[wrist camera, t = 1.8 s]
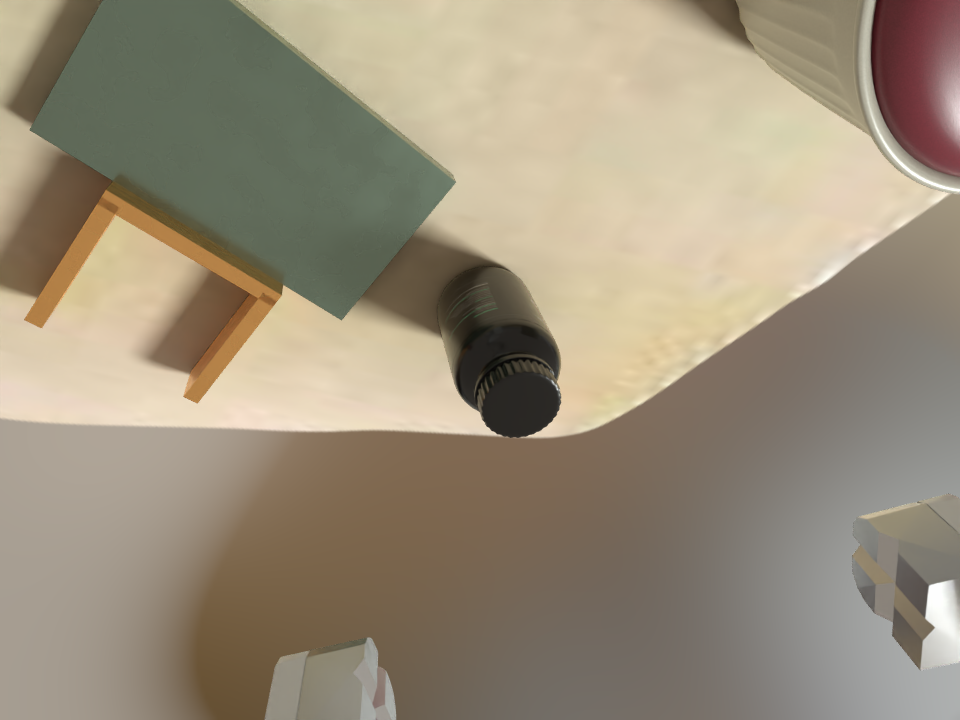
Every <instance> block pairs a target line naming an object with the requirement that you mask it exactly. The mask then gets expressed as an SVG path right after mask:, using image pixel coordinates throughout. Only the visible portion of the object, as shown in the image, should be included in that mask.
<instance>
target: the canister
mask: <svg viewBox="0 0 960 720" xmlns="http://www.w3.org/2000/svg"><path fill="white" fill-rule="evenodd" d="M736 3H737V5H738V7H739V12H740V15H739V18H740V21H741V23H742V24H743V25H744V27H745V33H746V36H747V38H748V40H749V41H750V42H751V43H752V44H753V45H754V49H755V51H756V53H757V54H758V55H759V56H760V57H761V58H762V59H763V60H765V61H766V63H767V64H768V66H769V67H770V68H771V69H772V70H774V71H775V72H776V73H778V74H779V75H780V76H782V77H783V78H784V79H786V80H787V81H789V82H790V83H791V84H793V85H794V86H796V87H797V88H798V89H800V90H801V91H803V92H804V93H806V94H807V95H809V96H810V97H812V98H813V99H814V100H816V101H817V102H819V103H820V104H822V105H823V106H825V107H826V108H828V109H829V110H831V111H832V112H834V113H835V114H837V115H839V116H840V117H842V118H843V119H845V120H846V121H848V122H850V123H851V124H853V125H854V126H856V127H857V128H859V129H860V130H862V131H863V132H865V133H867V134H868V135H870V136H871V137H872V139H873V141H874V142H875V144H876V146H877V147H878V149H879V150H880V152H881V153H882V154H883V155H884V157H885V158H886V159H887V160H888V161H889V162H890V163H891V164H892V165H893V166H894V167H895V168H896V169H897V170H899V171H900V172H901V173H902V174H904V175H905V176H907V177H908V178H910V179H912V180H914V181H915V182H917V183H919V184H922V185H924V186H926V187H929V188H932V189H935V190H938V191H942V192H947V193H953V194H960V0H736Z"/></svg>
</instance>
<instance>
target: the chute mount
mask: <svg viewBox="0 0 960 720" xmlns="http://www.w3.org/2000/svg"><path fill="white" fill-rule="evenodd" d="M30 131H32V132H34V133H35V134H37V135H38V136H40V137H42V138H43V139H45V140H47V141H48V142H50V143H52V144H53V145H55V146H57V147H58V148H60V149H61V150H63V151H65V152H66V153H68V154H70V155H71V156H73V157H75V158H76V159H78V160H79V161H81V162H83V163H84V164H86V165H88V166H89V167H91V168H93V169H94V170H96V171H98V172H99V173H101V174H102V175H104V176H106V177H107V178H109V179H111V180H112V183H111V184H110V185H109V187H108V188H107V189H106V190H105V192H104V194H103V195H102V197H101V198H100V200H99V202H98V203H97V205H96V206H95V208H94V210H93V211H92V213H91V214H90V216H89V217H88V219H87V221H86V222H85V224H84V225H83V227H82V229H81V230H80V232H79V233H78V235H77V237H76V238H75V240H74V241H73V243H72V245H71V246H70V248H69V249H68V251H67V252H66V254H65V256H64V257H63V259H62V260H61V262H60V264H59V265H58V267H57V268H56V270H55V272H54V273H53V275H52V276H51V278H50V279H49V281H48V283H47V284H46V286H45V287H44V289H43V291H42V292H41V294H40V295H39V297H38V299H37V300H36V302H35V303H34V305H33V307H32V308H31V310H30V311H29V313H28V314H27V316H26V318H25V319H24V320H25V321H27V322H30V323H32V324H34V325H36V326H38V327H40V328H42V327H43V326H44V324H45V323H46V321H47V320H48V318H49V317H50V315H51V314H52V312H53V311H54V310H55V308H56V307H57V305H58V304H59V302H60V300H61V299H62V297H63V296H64V294H65V293H66V291H67V290H68V288H69V286H70V285H71V283H72V282H73V280H74V279H75V277H76V276H77V274H78V273H79V271H80V269H81V268H82V266H83V265H84V263H85V262H86V260H87V259H88V257H89V255H90V254H91V252H92V251H93V249H94V248H95V246H96V245H97V243H98V241H99V240H100V238H101V237H102V235H103V234H104V232H105V231H106V229H107V228H108V226H109V224H110V223H111V221H112V220H113V218H114V217H115V215H117V216H119V217H121V218H122V219H124V220H126V221H127V222H129V223H131V224H132V225H134V226H136V227H138V228H139V229H141V230H143V231H144V232H146V233H148V234H149V235H151V236H153V237H155V238H156V239H158V240H160V241H161V242H163V243H165V244H166V245H168V246H170V247H172V248H173V249H175V250H177V251H178V252H180V253H182V254H184V255H185V256H187V257H189V258H190V259H192V260H194V261H195V262H197V263H199V264H201V265H202V266H204V267H206V268H207V269H209V270H211V271H212V272H214V273H216V274H218V275H219V276H221V277H223V278H224V279H226V280H228V281H230V282H231V283H233V284H235V285H236V286H238V287H240V288H241V289H243V290H245V291H247V292H248V293H250V294H249V296H248V297H247V298H246V299H245V301H244V302H243V303H242V305H241V306H240V307H239V309H238V310H237V311H236V313H235V314H234V315H233V317H232V318H231V319H230V321H229V322H228V323H227V325H226V326H225V327H224V328H223V330H222V331H221V332H220V334H219V335H218V336H217V338H216V339H215V340H214V342H213V343H212V344H211V346H210V347H209V348H208V350H207V351H206V352H205V354H204V355H203V356H202V357H201V359H200V360H199V361H198V363H197V364H196V365H195V367H194V368H193V369H192V371H191V372H190V376H189V379H188V383H187V386H186V389H185V393H184V396H183V397H185V398H187V399H189V400H191V401H193V402H195V403H198V402H199V401H200V400H201V398H202V397H203V396H204V394H205V393H206V392H207V391H208V389H209V388H210V387H211V386H212V384H213V383H214V382H215V380H216V379H217V378H218V377H219V375H220V374H221V373H222V371H223V370H224V369H225V368H226V366H227V365H228V364H229V362H230V361H231V360H232V359H233V357H234V356H235V355H236V353H237V352H238V351H239V350H240V348H241V347H242V346H243V344H244V343H245V342H246V341H247V339H248V338H249V337H250V335H251V334H252V333H253V332H254V330H255V329H256V328H257V327H258V325H259V324H260V323H261V321H262V320H263V319H264V318H265V316H266V315H267V314H268V312H269V311H270V310H271V309H272V307H273V306H274V305H275V303H276V302H277V301H278V300H279V298H280V297H281V296H282V289H283V285H285V286H286V287H288V288H289V289H291V290H293V291H294V292H296V293H298V294H299V295H301V296H303V297H304V298H306V299H308V300H309V301H311V302H312V303H314V304H316V305H317V306H319V307H321V308H322V309H324V310H326V311H327V312H329V313H331V314H332V315H334V316H335V317H337V318H339V319H340V320H342V319H343V318H344V317H345V315H346V314H347V313H348V312H349V311H350V309H351V308H352V307H353V306H354V305H355V303H356V302H357V301H358V300H359V299H360V297H361V296H362V295H363V294H364V293H365V291H366V290H367V289H368V288H369V287H370V285H371V284H372V283H373V282H374V280H375V279H376V278H377V277H378V276H379V274H380V273H381V272H382V271H383V270H384V268H385V267H386V266H387V265H388V264H389V262H390V261H391V260H392V259H393V258H394V256H395V255H396V254H397V253H398V252H399V250H400V249H401V248H402V247H403V246H404V244H405V243H406V242H407V241H408V240H409V238H410V237H411V236H412V235H413V233H414V232H415V231H416V230H417V229H418V227H419V226H420V225H421V224H422V223H423V221H424V220H425V219H426V218H427V217H428V215H429V214H430V213H431V212H432V211H433V209H434V208H435V207H436V206H437V205H438V203H439V202H440V201H441V200H442V199H443V197H444V196H445V195H446V194H447V193H448V191H449V190H450V189H451V188H452V186H453V185H454V184H455V183H456V181H455V179H454V177H453V175H452V174H451V173H450V172H449V171H448V170H446V169H445V168H444V167H443V166H441V165H440V164H439V163H438V162H436V161H435V160H434V159H433V158H431V157H430V156H429V155H428V154H426V153H425V152H424V151H423V150H421V149H420V148H419V147H418V146H416V145H415V144H414V143H413V142H412V141H410V140H409V139H408V138H407V137H405V136H404V135H403V134H402V133H400V132H399V131H398V130H397V129H395V128H394V127H393V126H392V125H390V124H389V123H388V122H387V121H385V120H384V119H383V118H382V117H380V116H379V115H378V114H377V113H375V112H374V111H373V110H372V109H370V108H369V107H368V106H367V105H366V104H364V103H363V102H362V101H361V100H359V99H358V98H357V97H356V96H354V95H353V94H352V93H351V92H349V91H348V90H347V89H346V88H344V87H343V86H342V85H341V84H339V83H338V82H337V81H336V80H334V79H333V78H332V77H331V76H329V75H328V74H327V73H326V72H325V71H323V70H322V69H321V68H320V67H318V66H317V65H316V64H315V63H313V62H312V61H311V60H310V59H308V58H307V57H306V56H305V55H303V54H302V53H301V52H300V51H298V50H297V49H296V48H295V47H293V46H292V45H291V44H290V43H288V42H287V41H286V40H285V39H283V38H282V37H281V36H280V35H279V34H277V33H276V32H275V31H274V30H272V29H271V28H270V27H269V26H267V25H266V24H265V23H264V22H262V21H261V20H260V19H259V18H257V17H256V16H255V15H254V14H252V13H251V12H250V11H249V10H247V9H246V8H245V7H244V6H242V5H241V4H240V3H239V2H237V1H236V0H102V2H101V4H100V6H99V8H98V9H97V11H96V13H95V15H94V16H93V18H92V20H91V22H90V23H89V25H88V27H87V29H86V31H85V32H84V34H83V36H82V38H81V39H80V41H79V43H78V45H77V46H76V48H75V50H74V52H73V54H72V55H71V57H70V59H69V61H68V62H67V64H66V66H65V68H64V70H63V71H62V73H61V75H60V77H59V78H58V80H57V82H56V84H55V85H54V87H53V89H52V91H51V93H50V94H49V96H48V98H47V100H46V101H45V103H44V105H43V107H42V108H41V110H40V112H39V114H38V116H37V117H36V119H35V121H34V123H33V124H32V126H31V128H30Z"/></svg>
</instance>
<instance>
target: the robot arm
mask: <svg viewBox="0 0 960 720" xmlns="http://www.w3.org/2000/svg"><path fill="white" fill-rule="evenodd" d="M853 536H854V538H855V539H856V540H857V541H858V542H859V543H860V546H859V548H858V549H857V550H856V551H855V553H854V554H853V555H852V572H853V575H854V578H855V581H856V585H857V588H858V589H859V591H860V593H861V595H862V597H863V599H864V600H865V602H866V603H867V604H868V606H869V607H870V608H871V609H872V611H873V612H874V613H875V614H877V615H879V616H881V617H883V618H885V619H887V620H890V621H892V622H893V629H892V636H893V637H894V639H895V640H896V641H897V642H898V643H899V645H900V646H901V647H902V649H903V650H904V651H905V652H906V653H907V655H908V656H909V657H910V658H911V660H912V661H913V662H914V663H915V665H916V666H917V667H918V668H919V670H925V669H929V668H934V667H939V666H944V665H948V664H953V663H958V662H960V499H959V498H958V497H956V496H954V495H951V494H946V495H942V496H938V497H934V498H930V499H926V500H922V501H918V502H917V503H910V504H906V505H902V506H898V507H894V508H890V509H887V510H883V511H879V512H875V513H871V514H867V515H863V516H859V517H857V518H856V520H855V522H854V523H853ZM377 663H378V651H377V649H376V647H375V645H374V643H373V640H372V639H371V638H364V639H360V640H355V641H350V642H345V643H341V644H336V645H332V646H327V647H323V648H318V649H313V650H310V651H307V652H302V653H298V654H293V655H288V656H284V657H281V658H280V659H279V661H278V663H277V665H276V666H275V670H274V676H273V680H272V685H271V690H270V695H269V700H268V705H267V710H266V715H265V720H396V710H395V702H394V694H393V690H392V687H391V683H390V680H389V677H388V675H387V672H386V670H385V669H383V668H381V667H379V666H378V664H377Z"/></svg>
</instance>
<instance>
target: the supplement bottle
mask: <svg viewBox="0 0 960 720" xmlns="http://www.w3.org/2000/svg"><path fill="white" fill-rule="evenodd" d="M437 317H438V323H439V327H440V331H441V335H442V339H443V343H444V347H445V350H446V354H447V358H448V362H449V365H450V369H451V373H452V377H453V380H454V384H455V386H456V389H457V391H458V393H459V395H460V396H461V398H462V399H463V400H464V401H465V402H466V403H467V404H468V405H469V406H471V407H472V408H474V409H475V410H477V411H479V412H480V414H481V417H482V420H483V421H484V422H485V424H486V426H487V427H489V428H490V429H491V431H494V432H496V434H500V435H502V436H504V437H506V436H508V437H510V438H512V437H517V438H519V437H522V436H523V437H526V436H528V435H531V434H534V433H536V432H538V431H541V430H542V429H543V428H544V427H547V425H548V424H549V423H550V422H552V421H553V418H554V417H555V416H556V415H557V412H558V411H559V406H560V404H561V400H560V399H561V393H560V388H559V385H558V383H557V380H558V377H559V374H560V369H561V357H560V352H559V349H558V347H557V344H556V342H555V340H554V338H553V336H552V334H551V332H550V330H549V328H548V326H547V325H546V323H545V321H544V319H543V317H542V315H541V313H540V311H539V309H538V307H537V305H536V304H535V302H534V300H533V298H532V296H531V294H530V292H529V291H528V289H527V287H526V286H525V284H524V283H523V282H522V280H521V279H520V278H519V277H517V276H516V275H515V274H513V273H511V272H510V271H508V270H505V269H502V268H498V267H491V266H486V267H478V268H474V269H471V270H468V271H466V272H464V273H462V274H460V275H459V276H457V277H456V278H455V279H453V280H452V281H451V282H450V283H449V284H448V286H447V287H446V288H445V290H444V291H443V293H442V295H441V297H440V300H439V303H438V309H437Z"/></svg>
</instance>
